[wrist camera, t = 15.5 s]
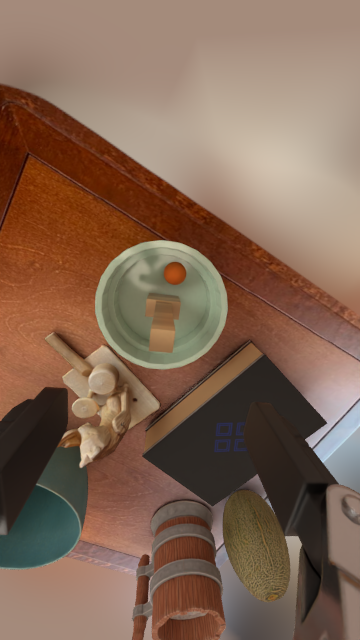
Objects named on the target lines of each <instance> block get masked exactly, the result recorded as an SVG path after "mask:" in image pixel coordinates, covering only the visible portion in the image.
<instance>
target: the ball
mask: <svg viewBox="0 0 360 640" xmlns="http://www.w3.org/2000/svg"><path fill="white" fill-rule="evenodd" d="M164 277H165V279H166V281H167V282H168V283H170V284H172V285H178V284H180V283H182V282H183V281H184V280H185V278H186V269H185V267H184V266H183V265H182V264H181V263H179V262H171V263H169V264H168V265H167V266H166V267H165V269H164Z"/></svg>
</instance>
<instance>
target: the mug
mask: <svg viewBox="0 0 360 640" xmlns="http://www.w3.org/2000/svg"><path fill="white" fill-rule="evenodd" d="M212 523H213V518H212V514H211V512H210V511H209V510H208V509H207V508H206V507H205V506H203V505H202V504H200V503H198V502H195V501H191V500H179V501H174V502H171V503H169V504H167V505H165V506H163V507H162V508H161V509H159V511H158V512H157V513H156V514H155V515H154V517H153V518H152V521H151V530H152V533H153V535H154V538H155V539H154V541H153V544H152V563H151V564H149V556H148V555H146V554H144V555H143V556H142V558H141V560H140V562H139V564H138V568H137V574H136V580H137V581H138V582H137V594H136V595H137V596H136V602H135V607H134V609H133V618H132V619H133V621H134V632H133V637H132V640H143V637H144V630H145V628H146V622H147V620H148V617H150V616H151V615H152V638H153V640H218V639H219V638H220V635H221V633H222V632H223V630H224V629H225V627H226V624H225V618H224V612H223V606H222V600H221V596H222V594H223V587H222V581H221V575H220V571H219V570H218V568H217V567H216V563H215V557H216V547H215V541H214V537H213V535H212V533H211V528H212ZM152 576H153V577H152ZM150 577H152V579H151V582H150V601H149V602H148V588H149V580H150Z"/></svg>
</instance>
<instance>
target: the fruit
mask: <svg viewBox="0 0 360 640" xmlns="http://www.w3.org/2000/svg"><path fill="white" fill-rule="evenodd" d="M223 538H224V544H225V548H226V551H227V554H228V557H229V560H230V562H231V564H232V566H233V568H234V570H235V572H236V574H237V575H238V577H239V579H240V580H241V582H242V583H243V584H244V586H245V587H246V588H247V589H248V590H249V592H250V593H251V594H252V595H253V596H255V597H256V598H258V599H259V600H261V601H264V602H272V601H275V600H277V599H280V598H281V597H282V596H284V594H285V592H286V590H287V588H288V583H289V580H290V559H289V554H288V547H287V543H286V539H285V536H284V533H283V531H282V529H281V526H280V524H279V522H278V519H277V517H276V515H275V514H274V512H273V510H272V509H271V507H270V506H269V505H268V504H267V502H266V501H265V500H264V499H263V498H262V497H261V496H259V495H258V494H256V493H255V492H252V491H249V490H239V491H236V492H234V493H233V494H232V495H231V496H230V497H229V499H228V500H227V502H226V505H225V508H224V514H223Z"/></svg>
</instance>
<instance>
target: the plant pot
mask: <svg viewBox="0 0 360 640" xmlns="http://www.w3.org/2000/svg"><path fill="white" fill-rule="evenodd" d="M81 460H82V459H81V452H80V448H79V446H73V447H68V448H65V447H61V446H60V447H57V448H56V450H55V452H54V453H53V455H52V457H51V459H50V461H49V462H48V464H47V466H46V468H45V469H44V471H43V473H42V475H41V477H40V478H39V480H38V482H37V484H36V485H35V487H34V489H33V491H32V493H31V494H30V496H29V498H28V500H27V501H26V503H25V505H24V507H23V509H22V510H21V512H20V514H19V516H18V517H17V519H16V521H15V523H14V525H13V526H12V528H11V530H10V532H9V533H8V535H0V569H12V570H13V569H14V570H15V569H30V568H37V567H42V566H46V565H48V564H51V563H53V562H56V561H58V560H59V559H61V558H63V557H65V556H66V555H67V554H69V553H70V552H71V551H72V550H73V549H74V547H75V546H76V544H77V543H78V541H79V539H80V536H81V532H82V528H83V524H84V519H85V514H86V508H87V499H88V475H87V468H86V466H84V467H82V468H80V466H79V465H80V462H81Z"/></svg>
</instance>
